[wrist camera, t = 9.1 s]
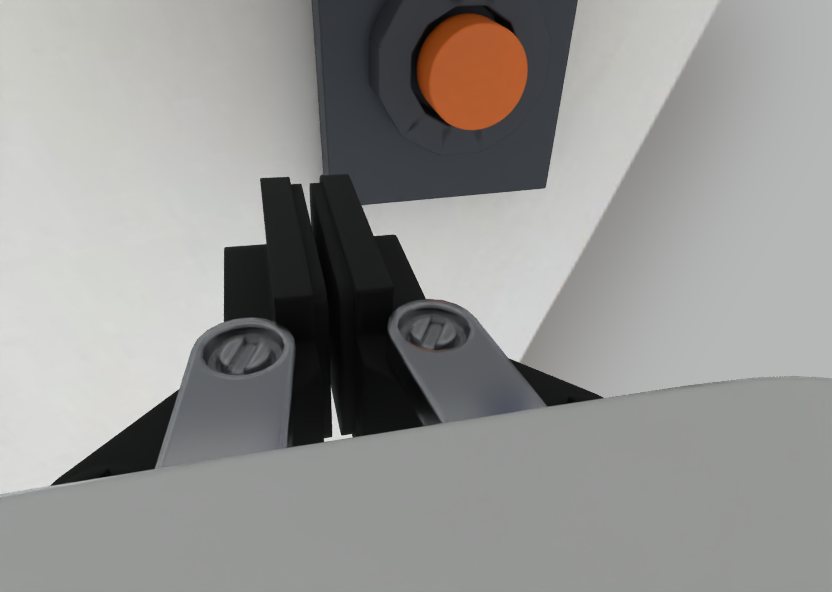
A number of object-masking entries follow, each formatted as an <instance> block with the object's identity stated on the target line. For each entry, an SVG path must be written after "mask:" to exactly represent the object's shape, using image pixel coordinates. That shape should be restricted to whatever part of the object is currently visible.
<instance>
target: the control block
mask: <svg viewBox="0 0 832 592" xmlns="http://www.w3.org/2000/svg"><path fill="white" fill-rule="evenodd" d="M577 1H578V0H312V12H313V27H314V42H315V56H316V71H317V86H318V101H319V116H320V130H321V145H322V160H323V175H339V174H349V176H350V178H351V181H352V183H353V186H354V188H355V191H356V193H357V196H358V198H359V201H360V203H361V205H368V204H379V203H390V202H400V201H411V200H422V199H433V198H444V197H455V196H466V195H477V194H487V193H498V192H509V191H520V190H531V189H542V188H545V187H546V182H547V177H548V171H549V165H550V159H551V153H552V147H553V141H554V136H555V130H556V124H557V118H558V112H559V106H560V101H561V95H562V89H563V83H564V77H565V71H566V66H567V60H568V54H569V48H570V42H571V36H572V30H573V25H574V19H575V13H576V7H577ZM463 13H475V14H480V15H483V16H485V17H487V18H489V19H491V20H493V21H494V22H496V23H498V24H500V25H502V26H503V27H505V28H507V29H508V30H510V31H511V32H512V33H513V34H514V35H515V36H516V37H517V38H518V39H519V41H520V42H521V44H522V46H523V48H524V50H525V54H526V58H527V65H528V74H527V81H526V85H525V89H524V92H523V94H522V96H521V98H520V100H519V102H518V103H517V105H516V106H515V108H514V109H513V110H512V111H511V112H510V113H509V114H508V115H507V116H506V117H505V118H504V119H502V120H501V121H500V122H498V123H496V124H494V125H492V126H490V127H487V128H484V129H479V130H464V129H460V128H456V127H454V126H452V125H450V124H449V123H447V122H446V121H445V120H443V119H442V118H441V117H440V115H439V114H438V113H437V112H436V111H435V110H434V109H433V107H432V106H431V105H430V104H429V103H428V102H427V100H426V99H425V98H424V96H423V94H422V92H421V90H420V88H419V84H418V80H417V61H418V56H419V53H420V50H421V47H422V45H423V43H424V41H425V40H426V38H427V36H428V35H429V34H430V33H431V31H432V30H433V29H434V28H435V27H436V26H437V25H439V24H440V23H441V22H443V21H444V20H446V19H448V18H450V17H452V16H455V15H458V14H463Z"/></svg>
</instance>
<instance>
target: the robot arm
mask: <svg viewBox="0 0 832 592" xmlns="http://www.w3.org/2000/svg"><path fill="white" fill-rule="evenodd" d="M260 181H261V192H262V202H263V212H264V222H265V232H266V242H267V244H263V245H250V246H236V247H225V248H224V323H220V324H218V325H216V326H215V327H213V328H211V329H209V330H207V331H206V332H205V333H204V334H203V335H202V336H200V337H199V338H198V339H197V341H196V343H195V344H194V346H193V348H192V350H191V353H190V357H189V360H188V363H187V366H186V370H185V373H184V376H183V379H182V383H181V386H180V389H179V390H177V391H176V392H175V393H173V394H172V395H171V396H169V397H168V398H166V399H165V400H164V401H162V402H161V403H160V404H158V405H157V406H156V407H154V408H153V409H152V410H150V411H149V412H148V413H146V414H145V415H143V416H142V417H141V418H139V419H138V420H137V421H135V422H134V423H133V424H131V425H130V426H129V427H127V428H126V429H125V430H123V431H122V432H120V433H119V434H118V435H116V436H115V437H114V438H112V439H111V440H110V441H108V442H107V443H106V444H104V445H103V446H102V447H100V448H99V449H97V450H96V451H95V452H93V453H92V454H91V455H89V456H88V457H87V458H85V459H84V460H83V461H81V462H80V463H79V464H77V465H76V466H74V467H73V468H72V469H70V470H69V471H68V472H66V473H65V474H64V475H62V476H61V477H60V478H58V479H57V480H56V481H55V482H54V483H53V484H52V485H50V486H48V487H42V488H36V489H30V490H23V491H17V492H11V493H5V494H0V592H832V379H831V378H820V377H818V378H817V377H800V376H784V377H759V378H747V379H738V380H731V381H721V382H713V383H704V384H696V385H688V386H681V387H675V388H668V389H662V390H655V391H648V392H642V393H635V394H629V395H622V396H616V397H609V398H603V397H601V396H599V395H597V394H595V393H592V392H590V391H587V390H585V389H583V388H580V387H577V386H575V385H573V384H570V383H568V382H565V381H563V380H560V379H558V378H556V377H553V376H551V375H548V374H545V373H543V372H541V371H538V370H536V369H533V368H531V367H528V366H526V365H523V364H521V363H519V362H516V361H514V360H511V359H509V358H508V357H507V356H506V355H505V354H504V352H503V351H502V350H501V349H500V347H499V346H498V345H497V344H496V343H495V341H494V340H493V339H492V338H491V336H490V335H489V334H488V333H487V331H486V330H485V329H484V328H483V326H482V325H481V324H480V323H479V322H478V320H477V319H476V318H475V317H474V316H473V315H472V314H471V313H470V312H469V311H468V310H466V309H464V308H462V307H460V306H459V305H457V304H454V303H450V302H447V301H443V300H434V299H425V296H424V294H423V292H422V290H421V288H420V286H419V283H418V281H417V279H416V277H415V275H414V273H413V270H412V268H411V266H410V264H409V262H408V260H407V258H406V255H405V253H404V251H403V249H402V247H401V245H400V242H399V240H398V238H397V237H396V235H384V236H373V233H372V231H371V228H370V226H369V223H368V221H367V218H366V216H365V213H364V211H363V208H362V206H361V203H360V201H359V198H358V196H357V193H356V191H355V188H354V186H353V183H352V181H351V178H350V176H349V174H339V175H321V176H320V183H310V209H311V223H310V218H309V214H308V210H307V206H306V202H305V197H304V193H303V189H302V185H301V184H291V183H290V178H289V177H277V178H260ZM331 388H332V393H333V398H334V403H335V408H336V413H337V418H338V423H339V428H340V432H341V435H348V434H352V436H353V438H347V439H341V440H335V441H328V442H324V438H329V437H332V411H331Z"/></svg>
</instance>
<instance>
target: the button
mask: <svg viewBox="0 0 832 592" xmlns="http://www.w3.org/2000/svg"><path fill="white" fill-rule="evenodd" d="M527 74H528V65H527V58H526V54H525V50H524V48H523V46H522V44H521V42H520V41H519V39H518V38H517V37H516V36H515V35H514V34H513V33H512V32H511V31H510V30H508V29H507V28H505V27H503V26H502V25H500V24H498V23H496V22H494V21H493V20H491V19H489V18H487V17H485V16H483V15H480V14H475V13H463V14H458V15H455V16H452V17H450V18H448V19H446V20H444V21H443V22H441V23H440V24H439V25H437V26H436V27H435V28H434V29H433V30H432V31H431V33H430V34H429V35H428V36H427V38H426V40H425V41H424V43H423V45H422V47H421V50H420V53H419V56H418V61H417V80H418V84H419V88H420V90H421V92H422V94H423V96H424V98H425V99H426V100H427V102H428V103H429V104H430V105H431V106H432V107H433V109H434V110H435V111H436V112H437V113H438V114H439V115H440V117H441V118H442V119H443V120H445V121H446V122H447V123H449V124H450V125H452V126H454V127H456V128H460V129H464V130H479V129H484V128H487V127H490V126H492V125H494V124H496V123H498V122H500V121H501V120H502V119H504V118H505V117H506V116H507V115H508V114H509V113H510V112H511V111H512V110H513V109H514V108H515V106H516V105H517V103H518V102H519V100H520V98H521V96H522V94H523V92H524V89H525V85H526V81H527Z"/></svg>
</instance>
